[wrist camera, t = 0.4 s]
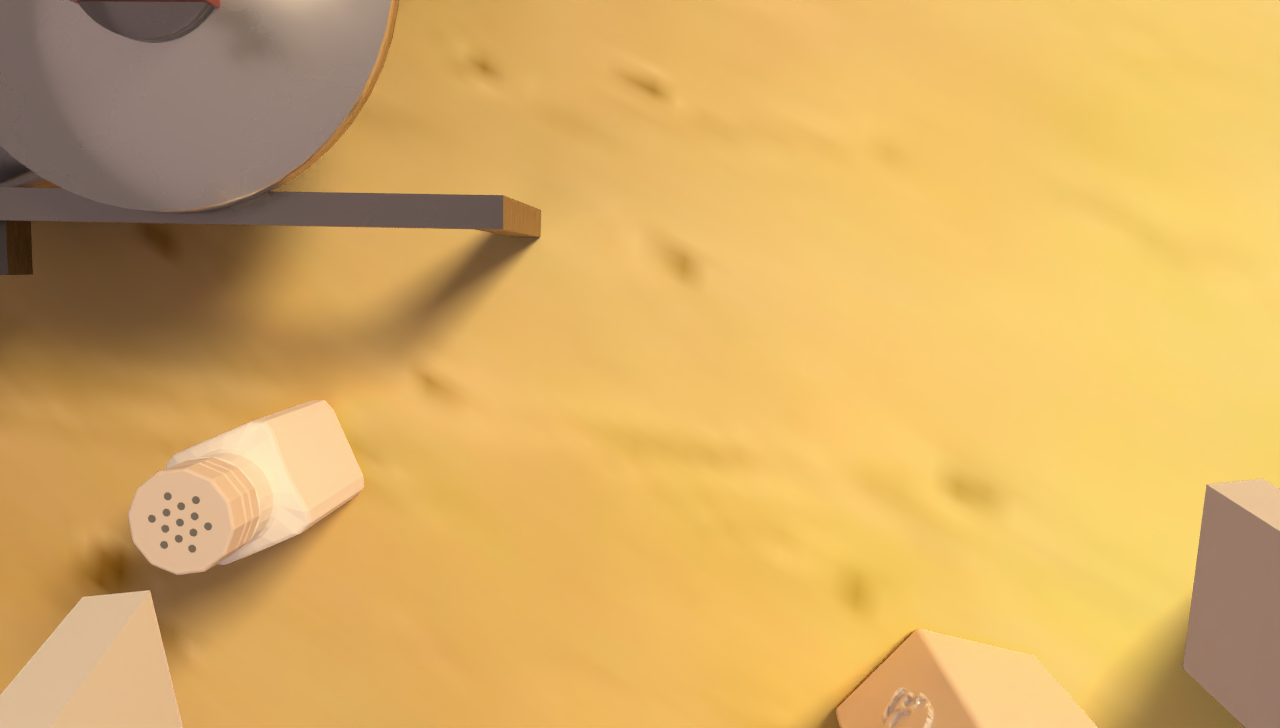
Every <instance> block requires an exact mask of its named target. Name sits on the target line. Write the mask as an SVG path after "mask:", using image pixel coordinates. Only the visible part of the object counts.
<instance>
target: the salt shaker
mask: <svg viewBox="0 0 1280 728" xmlns="http://www.w3.org/2000/svg"><path fill="white" fill-rule="evenodd" d="M363 488H364V480H363V474H362V472H361V470H360V467H359V465H358V463H357V461H356V459H355V456H354V454H353V452H352V450H351V448H350V445H349V443H348V441H347V439H346V436H345V434H344V432H343V430H342V428H341V425H340V423H339V421H338V419H337V417H336V414H335V412H334V410H333V408H332V407H331V406H330V405H329V404H328V403H327V402H326V401H325V400H311V401H309V402H306V403H303V404H300V405H297V406H294V407H291V408H288V409H286V410H283V411H280V412H277V413H274V414H271V415H268V416H265V417H263V418H260V419H257V420H254V421H251V422H248V423H246V424H244V425H241V426H239V427H237V428H234V429H232V430H229V431H227V432H225V433H222V434H220V435H218V436H215V437H213V438H211V439H208V440H206V441H204V442H201V443H199V444H197V445H194V446H192V447H190V448H188V449H185V450H183V451H181V452H179V453H176V454H174V455H173V457H172V458H171V459H170V460H169V462H168V463H167V464H166V469H163V470H161V471H158V472H157V473H156V474H154V475H153V476H152V477H151V478H149V479H148V480H147V481H146V482H145V483H143V484H142V485H141V486H140V487H138V488H137V490H136V493H135V496H134V498H133V501H132V504H131V507H130V510H129V513H128V519H129V525H130V530H131V535H132V540H133V543H134V544H135V546H136V547H137V548H138V549H139V550H140V552H141V553H142V554H143V555H144V557H145V558H146V559H147V560H148V561H149V563H150V564H152V565H154V566H156V567H159V568H161V569H164V570H166V571H169V572H171V573H173V574H176V575H182V574H190V573H198V572H205V571H207V570H208V569H210V568H211V567H213V566H215V565H216V564H220V565H226V564H229V563H231V562H234V561H237V560H239V559H242V558H244V557H247V556H249V555H252V554H254V553H257V552H259V551H262V550H264V549H266V548H269V547H271V546H273V545H276V544H278V543H280V542H283V541H285V540H287V539H289V538H292V537H294V536H296V535H298V534H301V533H302V532H304V531H305V530H307V529H308V528H310V527H311V526H313V525H314V524H315V523H317V522H318V521H320V520H321V519H323V518H324V517H326V516H327V515H329V514H330V513H332V512H333V511H335V510H336V509H338V508H339V507H341V506H342V505H343V504H345V503H346V502H348V501H349V500H351V499H352V498H354V497H355V496H356V495H357V494H358V493H359V492H360V491H361V490H362V489H363Z"/></svg>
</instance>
